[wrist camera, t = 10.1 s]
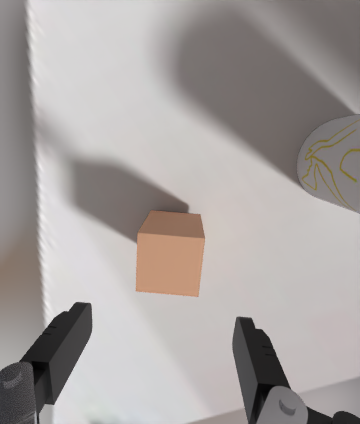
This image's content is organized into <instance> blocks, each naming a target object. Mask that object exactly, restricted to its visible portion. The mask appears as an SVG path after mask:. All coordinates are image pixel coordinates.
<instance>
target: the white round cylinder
mask: <svg viewBox="0 0 360 424" xmlns="http://www.w3.org/2000/svg"><path fill="white" fill-rule="evenodd" d="M297 175H298V179H299V181H300V183H301V185H302V186H303V188H304V189H305V190H306V191H307V192H308V193H309V194H311V195H312V196H314V197H316V198H319V199H321V200H324V201H327V202H330V203H332V204H335V205H338V206H340V207H343V208H346V209H348V210H351V211H354V212H357V213H359V214H360V114H357V115H352V116H347V117H343V118H338V119H334V120H331V121H328V122H326V123H324V124H322V125H321V126H319V127H318V128H316V129H315V130H314V131H313V132H312V133H311V134H310V135H309V136H308V137H307V139H306V140H305V141H304V143H303V145H302V147H301V149H300V151H299V154H298V158H297Z"/></svg>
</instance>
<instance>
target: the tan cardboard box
mask: <svg viewBox="0 0 360 424" xmlns="http://www.w3.org/2000/svg"><path fill="white" fill-rule="evenodd" d="M204 244H205V236H204V231H203V226H202V220H201V215H200V214H189V213H177V212H165V211H154V210H151V211H150V213H149V215H148V216H147V218H146V220H145V221H144V223H143V224H142V226H141V228H140V229H139V231H138V233H137V267H136V291H138V292H149V293H161V294H172V295H183V296H195V297H198V295H199V286H200V278H201V269H202V261H203V252H204Z"/></svg>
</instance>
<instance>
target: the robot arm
mask: <svg viewBox="0 0 360 424" xmlns="http://www.w3.org/2000/svg"><path fill="white" fill-rule="evenodd" d="M91 332H92V308H91V304H90V303H83V302H76V303H75V304H74V305H73V306H72V307H71V309H70V310H69V311H68V312H67V311H63V312H62V313H61V314H59V315H58V316H56V317H55V318H54V319H53V320H52V322H51V323H50V324H49V325H48V327H47V328H46V329H45V330H44V331H43V333H42V335H40V336H39V338H38V339H37V340H36V341H35V343H34V344H33V345H32V346H31V347H30V349H29V350H28V351H27V352H26V354H25V355H24V356H23V358H22V359H21V360H20V361H19V362H17V363H13V364H11V365H9V366H7V367H5V368H4V369H2V370H1V371H0V424H40V416H39V413H40V411H41V410H42V408H43V406H44V404H51V405H54V404H55V402H56V400H57V398H58V396H59V395H60V393H61V391H62V389H63V387H64V385H65V383H66V381H67V380H68V378H69V376H70V374H71V372H72V370H73V368H74V366H75V365H76V363H77V361H78V359H79V357H80V355H81V353H82V351H83V350H84V348H85V346H86V344H87V342H88V340H89V338H90V336H91ZM232 346H233V354H234V359H235V364H236V368H237V373H238V378H239V382H240V387H241V392H242V396H243V401H244V406H245V410H246V415H247V419H248V424H360V418H358V417H356V416H355V415H353V414H351V413H348V412H344V411H339V412H336V413H335V414H334V416H333V418H331V417H329V416H326V415H324V414H321V413H319V412H317V411H315V410H312V409H310V408H309V407H307V406H306V405H305V403H304V402H303V401H302V399H301V398H300V397H299V395H298V394H296V393H295V392H294V391H293V390H291V388H290V386H289V383H288V381H287V378H286V376H285V374H284V371H283V369H282V367H281V364H280V362H279V360H278V357H277V355H276V352H275V350H274V349H273V345H272V343H271V341H270V338H269V337H268V336H267V335H266V333H265V332H264V331H263V330H262V329H256V328H255V325H254V323H253V320H252V318H248V317H237V318H236V322H235V328H234V334H233V342H232Z"/></svg>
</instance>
